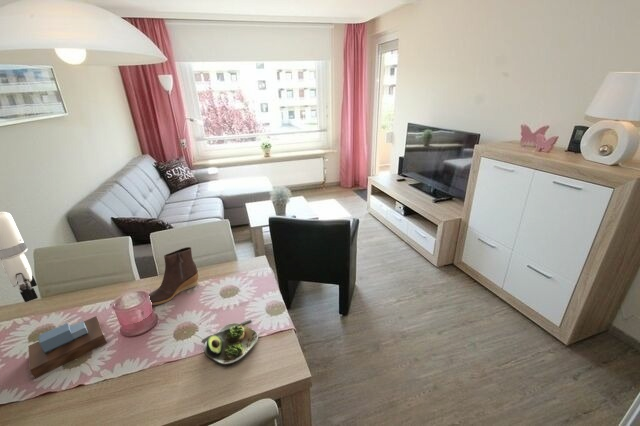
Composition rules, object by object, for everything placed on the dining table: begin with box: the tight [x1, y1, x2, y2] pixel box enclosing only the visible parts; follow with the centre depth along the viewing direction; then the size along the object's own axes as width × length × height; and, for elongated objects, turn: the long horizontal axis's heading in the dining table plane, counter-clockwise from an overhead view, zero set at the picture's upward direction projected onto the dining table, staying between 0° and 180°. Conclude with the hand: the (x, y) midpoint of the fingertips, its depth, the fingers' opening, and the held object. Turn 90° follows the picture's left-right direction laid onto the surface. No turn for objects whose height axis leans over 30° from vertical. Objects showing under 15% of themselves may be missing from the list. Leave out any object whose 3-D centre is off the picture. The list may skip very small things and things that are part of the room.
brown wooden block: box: [28, 315, 108, 379], centre depth 105 cm, size 20×14×4 cm
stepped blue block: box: [38, 320, 88, 354], centre depth 103 cm, size 12×5×5 cm, turn 134°
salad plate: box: [200, 319, 259, 367], centre depth 104 cm, size 19×18×5 cm
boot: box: [148, 246, 199, 306], centre depth 129 cm, size 9×24×20 cm, turn 134°
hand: (31, 293), depth 100 cm, fingers open, 9 cm apart
